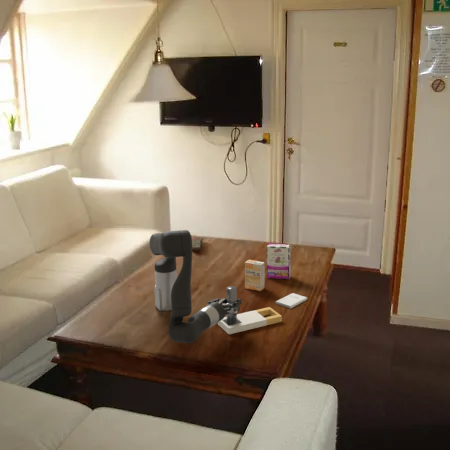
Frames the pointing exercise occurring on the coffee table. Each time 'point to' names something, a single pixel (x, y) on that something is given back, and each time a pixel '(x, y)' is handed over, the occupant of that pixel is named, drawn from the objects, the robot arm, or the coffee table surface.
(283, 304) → the external hard drive
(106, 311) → the coffee table surface
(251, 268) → the supplement box
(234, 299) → the peg
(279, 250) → the candy bar box
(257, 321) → the rail
